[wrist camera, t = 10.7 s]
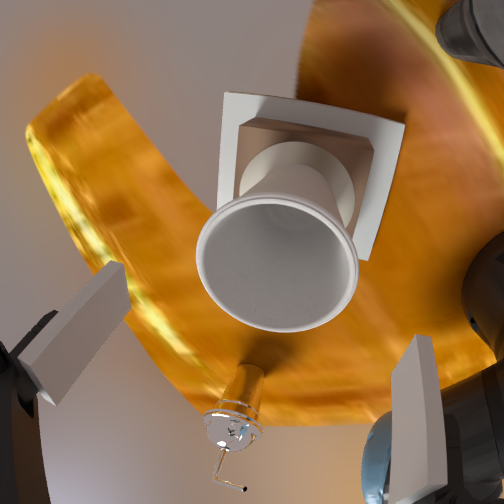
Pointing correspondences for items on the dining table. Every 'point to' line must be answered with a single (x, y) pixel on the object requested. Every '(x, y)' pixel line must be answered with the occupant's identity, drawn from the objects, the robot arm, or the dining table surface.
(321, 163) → the brown block
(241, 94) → the board
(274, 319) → the dixie cup
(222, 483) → the cup with straw
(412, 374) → the robot arm
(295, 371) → the dining table surface
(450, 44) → the beverage cup
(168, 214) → the dining table surface
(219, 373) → the dining table surface
